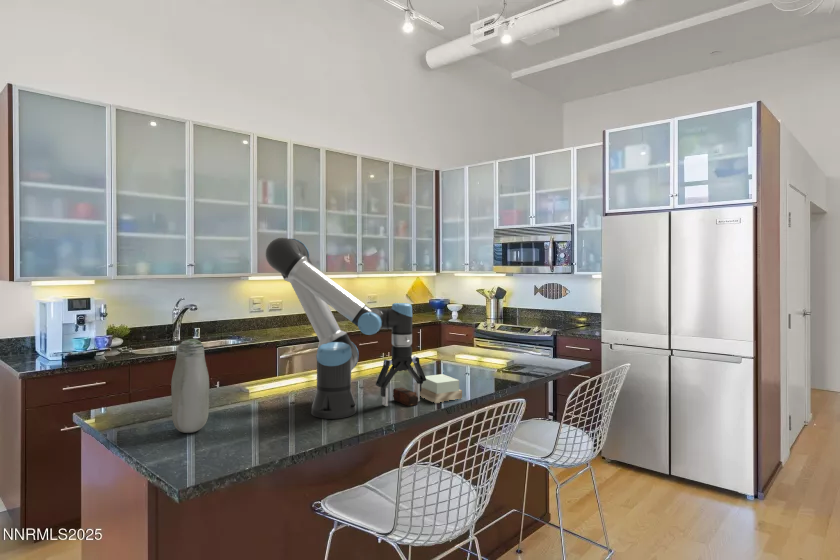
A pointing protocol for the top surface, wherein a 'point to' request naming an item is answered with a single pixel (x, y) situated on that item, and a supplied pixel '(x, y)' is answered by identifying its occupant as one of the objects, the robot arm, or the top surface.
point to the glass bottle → (190, 387)
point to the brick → (405, 396)
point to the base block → (440, 395)
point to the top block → (440, 384)
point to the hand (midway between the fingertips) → (401, 402)
